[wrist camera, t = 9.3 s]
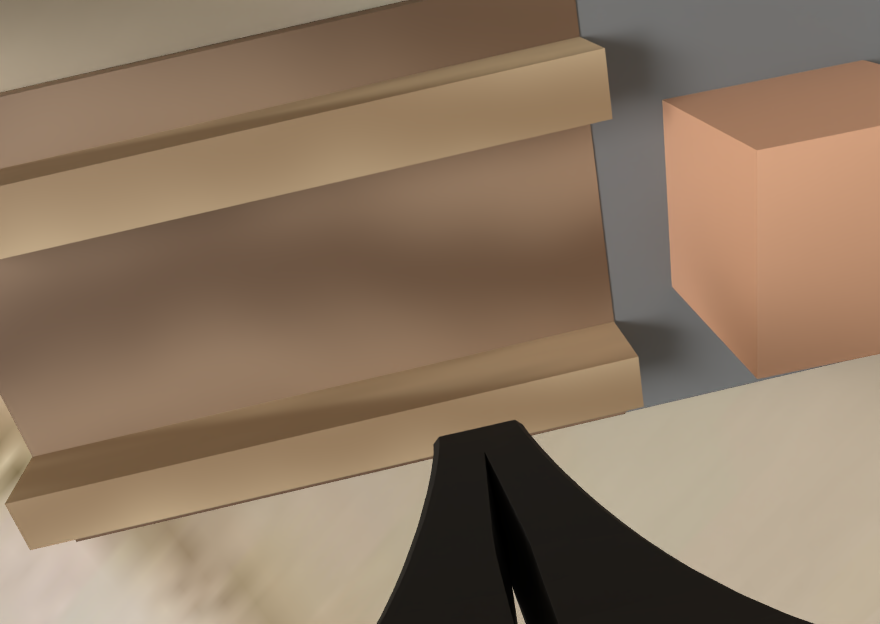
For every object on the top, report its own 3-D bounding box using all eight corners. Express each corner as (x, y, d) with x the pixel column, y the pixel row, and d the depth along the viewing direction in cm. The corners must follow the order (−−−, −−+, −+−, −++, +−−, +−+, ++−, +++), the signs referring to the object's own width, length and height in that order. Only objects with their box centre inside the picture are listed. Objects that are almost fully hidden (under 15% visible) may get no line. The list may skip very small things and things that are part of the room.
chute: (615, 395, 24) (649, 453, 22) (86, 518, 24) (54, 593, 21) (560, -35, 19) (596, -29, 16) (-115, 118, 19) (-191, 150, 16)
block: (852, 249, 22) (984, 332, 18) (672, 286, 22) (757, 379, 17) (862, 60, 20) (1016, 98, 15) (661, 100, 20) (757, 150, 15)
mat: (875, 334, 24) (895, 349, 24) (615, 395, 24) (624, 412, 23) (892, -110, 19) (918, -112, 18) (560, -35, 19) (570, -33, 18)
